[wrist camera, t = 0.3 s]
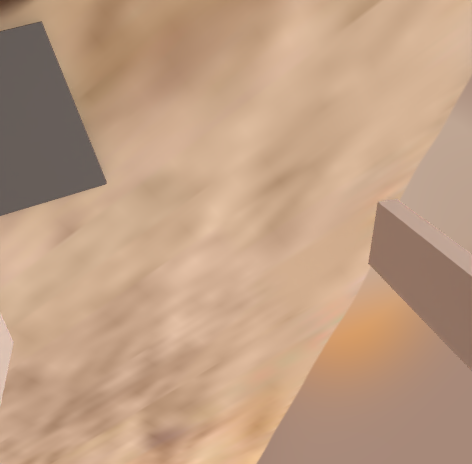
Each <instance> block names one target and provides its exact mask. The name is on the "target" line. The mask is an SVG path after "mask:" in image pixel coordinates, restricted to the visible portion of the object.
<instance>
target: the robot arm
mask: <svg viewBox="0 0 472 464" xmlns="http://www.w3.org/2000/svg"><path fill="white" fill-rule="evenodd" d="M368 264H369V265H370V266H371V267H372V268H373V269H374V270H375V271H376V272H377V273H378V274H379V275H380V276H381V277H382V278H383V279H384V280H385V281H386V282H387V283H388V284H389V285H390V286H391V287H392V288H393V289H394V291H396V293H397V294H398V295H399V296H400V297H401V298H402V299H403V300H404V301H405V302H406V303H407V304H408V305H409V306H410V307H411V308H412V309H413V310H414V311H415V312H416V313H417V314H418V315H419V317H420V318H422V320H423V321H424V322H425V323H427V325H428V326H429V327H430V328H431V329H432V330H433V331H434V332H435V333H436V334H437V335H438V336H439V337H440V338H441V339H442V340H443V341H444V342H445V344H446V345H447V346H449V348H450V349H451V350H452V351H453V352H454V353H455V354H456V355H457V356H458V357H459V358H460V359H461V360H462V361H463V362H464V363H465V364H466V365H467V366H468V367H469V368H470V369H471V371H472V253H470V252H469V251H467V250H466V249H465V248H463V247H462V246H461V245H459V244H458V243H457V242H455V241H454V240H452V239H451V238H450V237H448V236H447V235H445V234H444V233H443V232H442V231H440V230H439V229H437V228H436V227H435V226H433V225H432V224H431V223H429V222H428V221H426V220H425V219H423V218H422V217H421V216H420V215H418V214H417V213H416V212H414V211H413V210H411V209H410V208H408V207H407V206H406V205H404V204H403V203H402V202H401V201H399V200H398V199H391V200H385V201H380V202H378V204H377V211H376V217H375V224H374V230H373V237H372V243H371V250H370V256H369V263H368ZM13 343H14V342H13V340H12V338H11V335H10V333H9V331H8V329H7V326H6V324H5V322H4V320H3V317H2V315H1V313H0V405H1V400H2V395H3V391H4V386H5V381H6V376H7V372H8V367H9V362H10V357H11V352H12V348H13Z"/></svg>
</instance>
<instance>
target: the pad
mask: <svg viewBox="0 0 472 464" xmlns="http://www.w3.org/2000/svg"><path fill="white" fill-rule="evenodd" d="M105 184H106V179H105V177H104V174H103V172H102V170H101V167H100V165H99V162H98V160H97V157H96V155H95V152H94V150H93V147H92V145H91V142H90V140H89V137H88V135H87V133H86V130H85V128H84V125H83V123H82V120H81V118H80V115H79V113H78V110H77V108H76V105H75V103H74V100H73V98H72V96H71V93H70V91H69V88H68V86H67V83H66V81H65V78H64V76H63V73H62V71H61V68H60V66H59V63H58V61H57V58H56V56H55V54H54V51H53V49H52V46H51V44H50V41H49V39H48V36H47V34H46V31H45V29H44V26H43V24H42V21H41V22H37V23H33V24H29V25H25V26H20V27H16V28H12V29H8V30H4V31H0V216H1V215H5V214H8V213H11V212H15V211H18V210H21V209H25V208H28V207H31V206H35V205H38V204H41V203H45V202H48V201H51V200H55V199H58V198H61V197H65V196H68V195H71V194H75V193H78V192H81V191H85V190H88V189H91V188H95V187H98V186H101V185H105Z"/></svg>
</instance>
